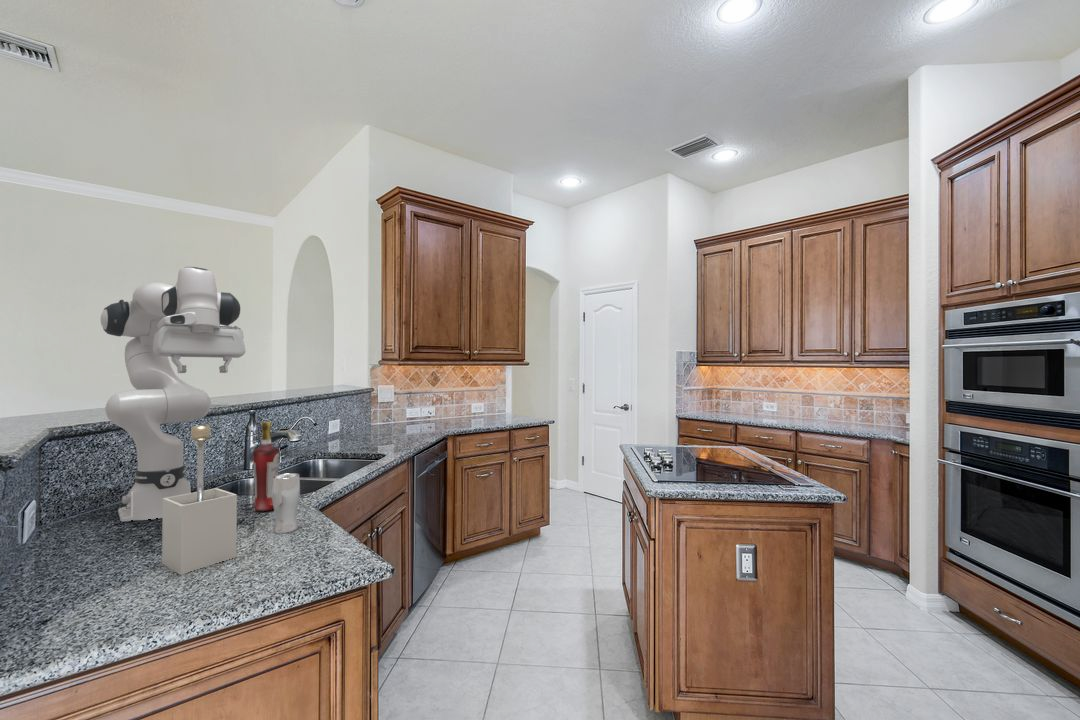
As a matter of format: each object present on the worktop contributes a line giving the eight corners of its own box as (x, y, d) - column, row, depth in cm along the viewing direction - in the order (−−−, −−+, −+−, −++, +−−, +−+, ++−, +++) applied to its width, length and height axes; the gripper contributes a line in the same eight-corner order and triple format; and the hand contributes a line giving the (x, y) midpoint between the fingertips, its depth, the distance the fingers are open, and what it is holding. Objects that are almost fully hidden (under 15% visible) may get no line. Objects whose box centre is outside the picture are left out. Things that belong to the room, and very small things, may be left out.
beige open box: (162, 563, 106) (162, 498, 106) (216, 547, 115) (216, 488, 116) (180, 575, 100) (181, 506, 100) (236, 557, 109) (236, 494, 109)
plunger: (170, 510, 107) (171, 427, 107) (213, 501, 114) (213, 423, 114) (185, 517, 102) (186, 429, 102) (228, 507, 109) (229, 425, 109)
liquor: (259, 506, 150) (260, 421, 150) (283, 505, 151) (283, 420, 151) (247, 513, 142) (248, 423, 143) (272, 512, 143) (273, 423, 144)
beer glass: (287, 534, 124) (287, 479, 124) (265, 533, 125) (265, 478, 126) (305, 526, 131) (305, 473, 131) (284, 524, 132) (284, 472, 133)
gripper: (238, 329, 135) (242, 374, 133) (149, 323, 119) (152, 375, 117) (247, 323, 132) (251, 369, 129) (156, 316, 115) (160, 369, 113)
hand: (203, 372), depth 123 cm, fingers open, 8 cm apart
